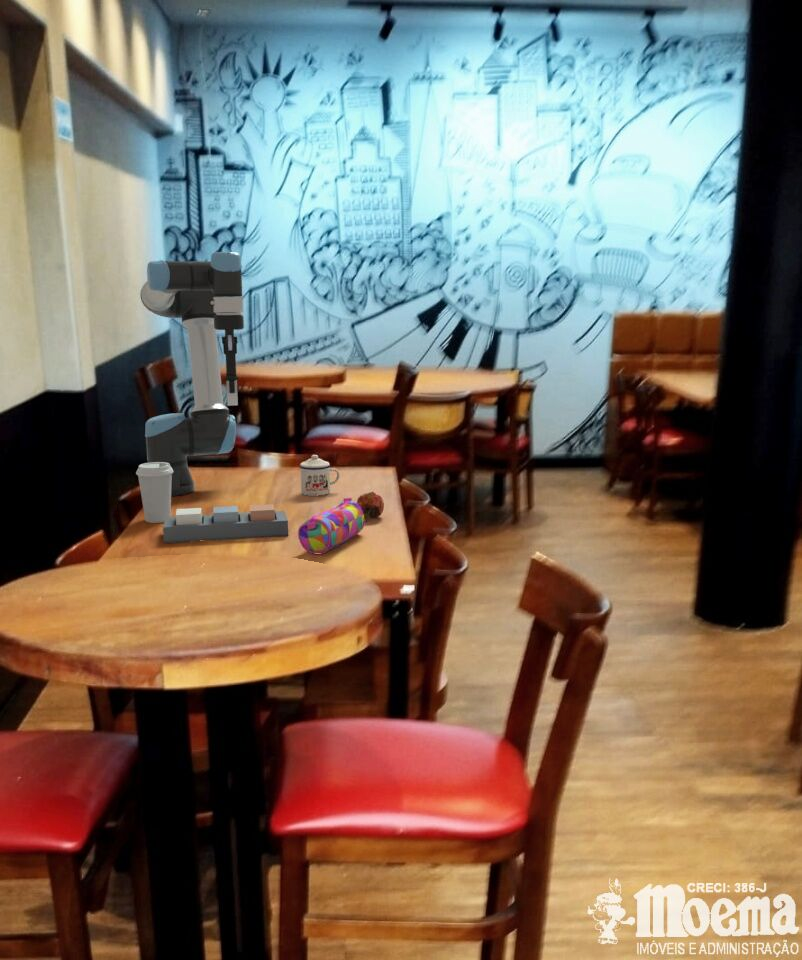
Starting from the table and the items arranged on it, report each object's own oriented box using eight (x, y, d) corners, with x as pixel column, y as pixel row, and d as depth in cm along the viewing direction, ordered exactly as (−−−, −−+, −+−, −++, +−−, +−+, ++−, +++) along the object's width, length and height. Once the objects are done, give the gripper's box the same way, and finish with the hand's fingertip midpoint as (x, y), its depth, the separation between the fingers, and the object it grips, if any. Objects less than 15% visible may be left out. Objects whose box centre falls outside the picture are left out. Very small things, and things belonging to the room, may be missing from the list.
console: (166, 532, 218) (165, 517, 217) (285, 525, 224) (284, 510, 223) (164, 543, 208) (163, 527, 207) (288, 536, 214) (287, 520, 213)
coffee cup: (166, 525, 224) (162, 469, 221) (132, 523, 226) (128, 467, 223) (182, 516, 233) (179, 462, 230) (150, 514, 235) (146, 460, 232)
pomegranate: (382, 529, 228) (392, 500, 234) (373, 512, 223) (383, 482, 229) (357, 529, 231) (367, 500, 237) (348, 512, 226) (358, 483, 232)
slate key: (214, 524, 218) (213, 507, 217) (238, 523, 219) (237, 505, 218) (214, 530, 212) (213, 513, 211) (238, 529, 213) (238, 511, 212)
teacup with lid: (303, 497, 254) (302, 459, 251) (298, 490, 262) (297, 453, 260) (342, 495, 257) (342, 456, 254) (336, 488, 266) (336, 451, 263)
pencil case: (332, 530, 220) (332, 496, 218) (367, 533, 217) (366, 498, 215) (296, 554, 200) (294, 517, 198) (333, 558, 197) (332, 520, 195)
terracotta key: (250, 522, 220) (249, 505, 219) (274, 521, 221) (273, 504, 220) (251, 528, 214) (250, 511, 213) (275, 527, 215) (274, 509, 214)
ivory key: (177, 526, 216) (176, 509, 215) (202, 525, 217) (201, 507, 216) (176, 532, 210) (175, 515, 209) (201, 531, 211) (200, 513, 211)
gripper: (213, 313, 227) (218, 402, 232) (213, 314, 214) (218, 408, 219) (242, 313, 228) (246, 401, 233) (243, 314, 216) (247, 407, 221)
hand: (232, 405), depth 226 cm, fingers closed
